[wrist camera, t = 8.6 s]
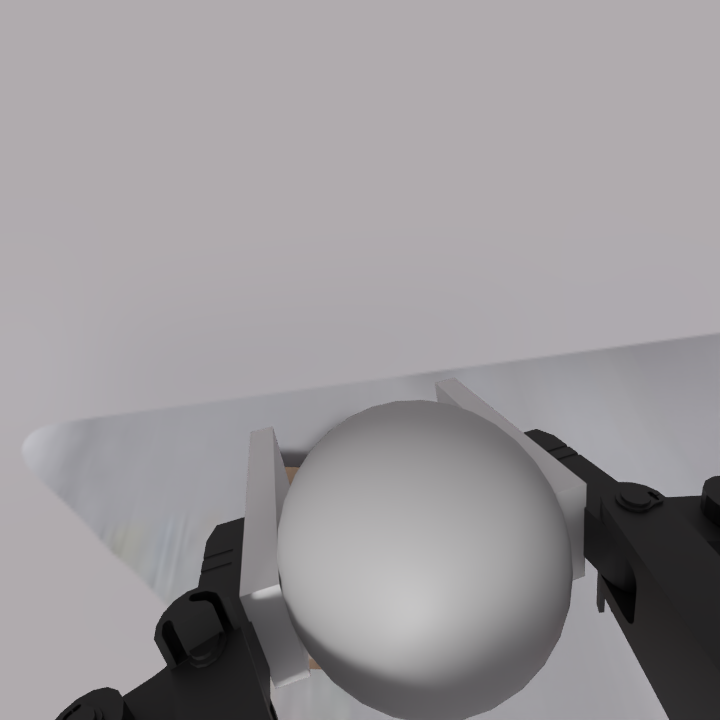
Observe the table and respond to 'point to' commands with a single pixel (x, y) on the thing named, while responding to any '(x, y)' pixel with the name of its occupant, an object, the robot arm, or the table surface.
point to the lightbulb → (424, 561)
